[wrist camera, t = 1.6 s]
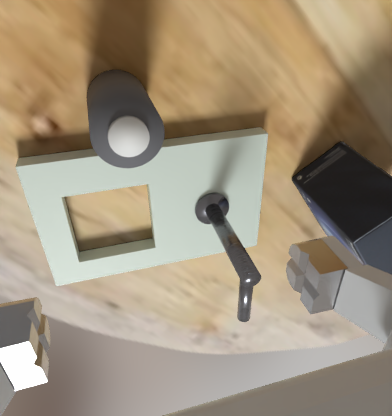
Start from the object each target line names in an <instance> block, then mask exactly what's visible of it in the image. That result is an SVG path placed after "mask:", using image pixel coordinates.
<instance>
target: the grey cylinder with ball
mask: <svg viewBox="0 0 392 416" xmlns="http://www.w3.org/2000/svg"><path fill="white" fill-rule="evenodd" d="M87 106H88V119H89V131H90V140H91V144H92V146H93V149H94V150H95V152H96V153H97V155H98V156H99V157H100V158H101V159H102V160H104V161H105V162H106V163H108V164H110V165H112V166H115V167H119V168H135V167H139V166H142V165H144V164H146V163H148V162H149V161H151V160H152V159H153V158H154V157H155V156H156V155H157V154H158V152H159V151H160V149H161V147H162V145H163V141H164V125H163V122H162V119H161V117H160V116H159V114H158V112H157V110H156V108H155V107H154V105H153V103H152V101H151V100H150V98H149V96H148V94H147V92H146V91H145V89H144V87H143V85H142V84H141V82H140V81H139V80H138V79H137V78H136V77H135V76H133V75H132V74H130V73H128V72H126V71H122V70H109V71H105V72H103V73H101V74H99V75H98V76H97V77H96V78H95V79H94V80H93V81H92V82H91V84H90V86H89V88H88V92H87Z"/></svg>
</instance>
